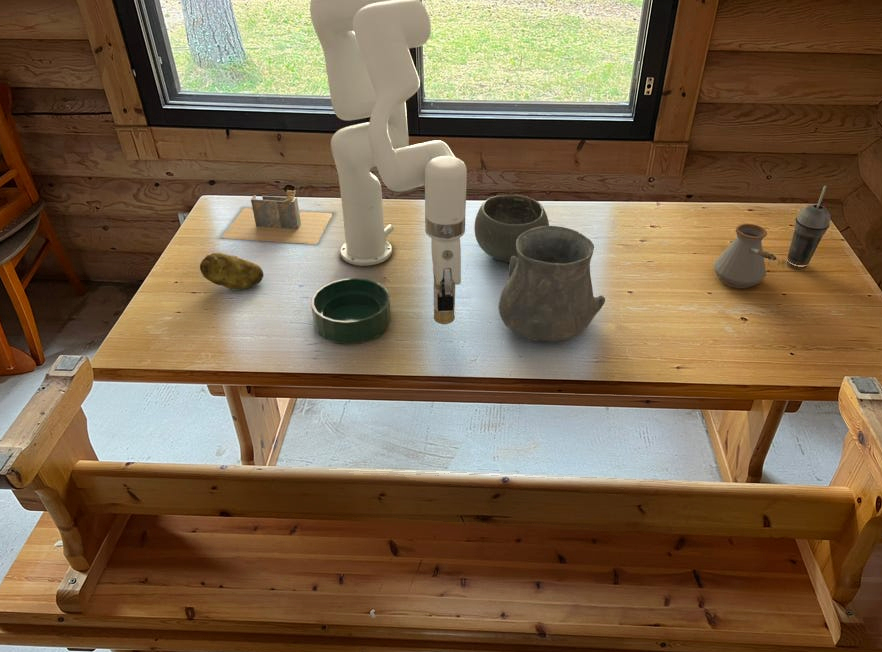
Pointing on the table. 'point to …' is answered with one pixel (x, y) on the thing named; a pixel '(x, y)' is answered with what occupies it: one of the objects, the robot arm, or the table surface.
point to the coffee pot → (744, 258)
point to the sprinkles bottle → (442, 316)
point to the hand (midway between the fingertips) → (444, 301)
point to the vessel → (550, 285)
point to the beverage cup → (808, 233)
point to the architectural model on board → (278, 221)
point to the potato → (230, 271)
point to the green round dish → (351, 310)
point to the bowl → (506, 223)
